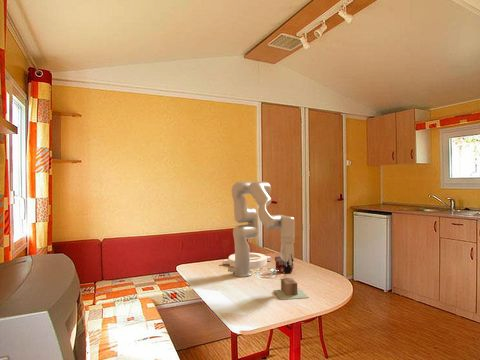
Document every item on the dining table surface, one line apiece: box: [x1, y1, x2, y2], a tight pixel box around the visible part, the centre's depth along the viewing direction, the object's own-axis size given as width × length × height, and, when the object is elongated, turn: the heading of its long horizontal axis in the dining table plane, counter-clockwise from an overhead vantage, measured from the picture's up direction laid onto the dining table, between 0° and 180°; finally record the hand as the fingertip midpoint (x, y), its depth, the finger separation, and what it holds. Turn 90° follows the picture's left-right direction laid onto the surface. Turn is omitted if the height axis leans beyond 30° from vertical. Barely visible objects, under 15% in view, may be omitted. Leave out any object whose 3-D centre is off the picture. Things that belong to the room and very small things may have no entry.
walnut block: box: [280, 277, 298, 296], centre depth 158 cm, size 6×6×10 cm
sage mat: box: [273, 287, 309, 301], centre depth 156 cm, size 15×13×1 cm
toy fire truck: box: [274, 256, 294, 274], centre depth 195 cm, size 7×12×10 cm, turn 101°
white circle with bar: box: [222, 252, 272, 269], centre depth 218 cm, size 28×28×5 cm
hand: (287, 273), depth 160 cm, fingers closed
